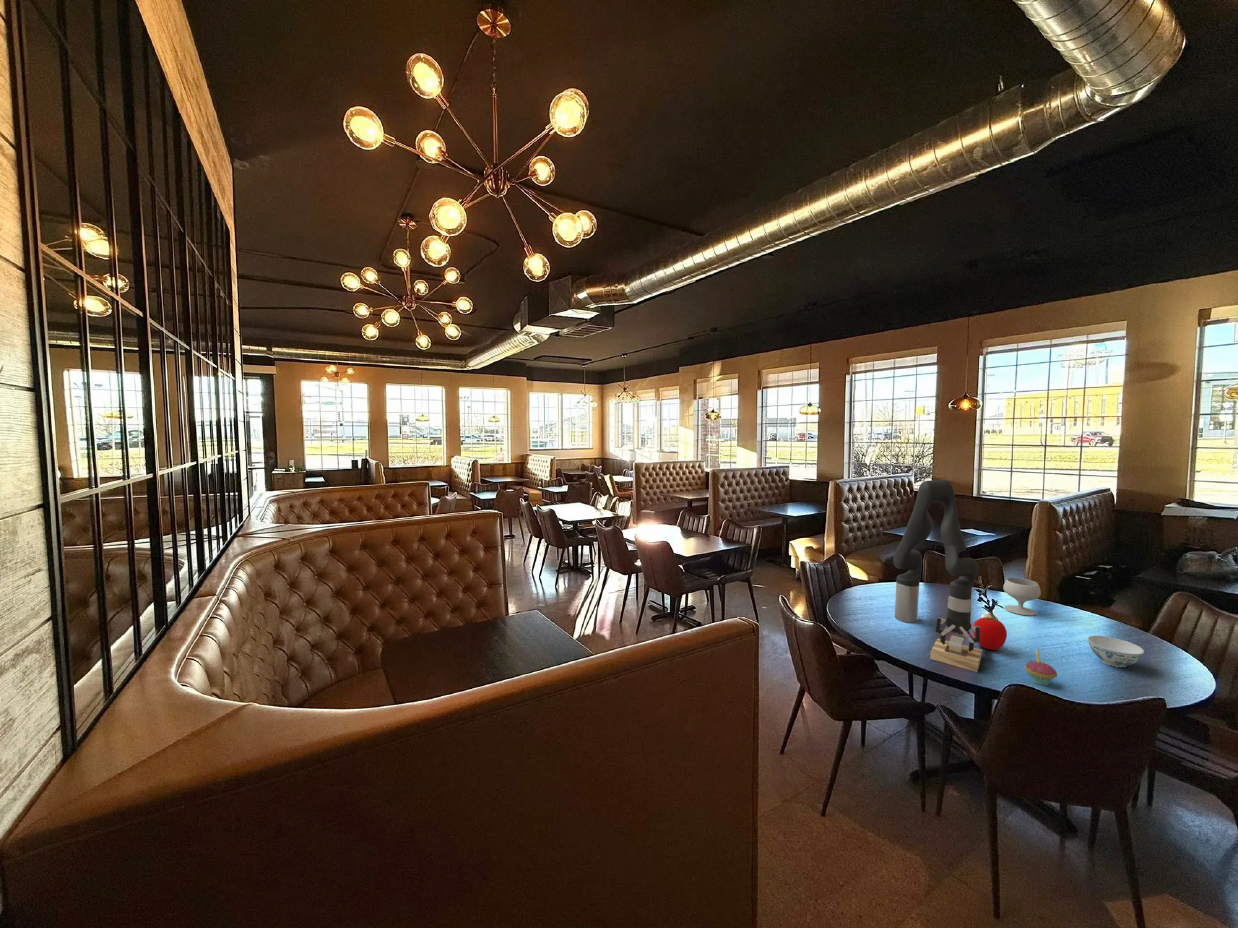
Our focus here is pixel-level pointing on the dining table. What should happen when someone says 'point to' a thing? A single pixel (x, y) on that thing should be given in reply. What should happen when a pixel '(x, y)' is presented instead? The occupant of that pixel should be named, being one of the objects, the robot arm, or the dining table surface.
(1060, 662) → the dining table surface
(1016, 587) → the chalice
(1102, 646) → the chinaware
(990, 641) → the tomato
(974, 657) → the well block
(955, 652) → the grey stepped wood block
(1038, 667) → the cupcake
